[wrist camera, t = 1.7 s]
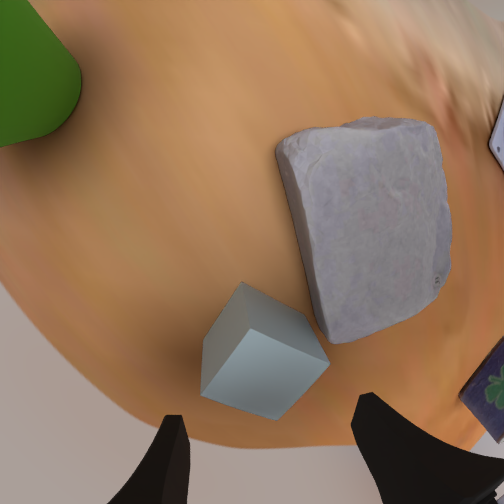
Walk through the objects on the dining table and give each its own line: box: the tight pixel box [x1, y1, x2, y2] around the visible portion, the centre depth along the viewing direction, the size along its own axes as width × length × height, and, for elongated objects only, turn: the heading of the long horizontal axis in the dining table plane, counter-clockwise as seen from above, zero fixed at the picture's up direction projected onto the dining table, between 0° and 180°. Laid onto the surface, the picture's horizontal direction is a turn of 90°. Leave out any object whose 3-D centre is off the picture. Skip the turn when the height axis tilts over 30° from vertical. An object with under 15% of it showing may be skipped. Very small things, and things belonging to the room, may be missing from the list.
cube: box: [200, 281, 330, 421], centre depth 15 cm, size 4×4×5 cm
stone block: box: [275, 116, 452, 344], centre depth 15 cm, size 12×5×10 cm
